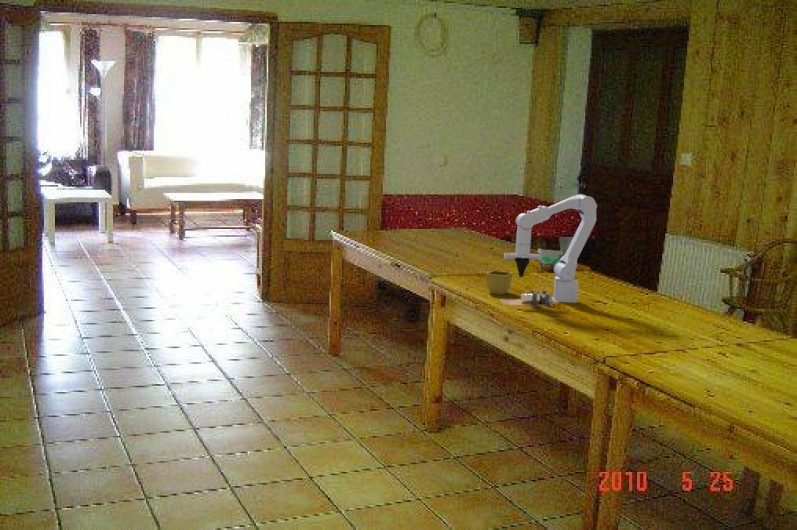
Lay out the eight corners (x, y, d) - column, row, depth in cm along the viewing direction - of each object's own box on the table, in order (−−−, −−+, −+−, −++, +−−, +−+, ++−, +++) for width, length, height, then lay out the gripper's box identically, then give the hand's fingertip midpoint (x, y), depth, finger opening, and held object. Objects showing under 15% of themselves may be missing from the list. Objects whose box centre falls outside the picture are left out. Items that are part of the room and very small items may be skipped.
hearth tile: (548, 301, 335) (548, 300, 335) (553, 307, 325) (553, 306, 325) (499, 299, 335) (499, 298, 335) (503, 305, 325) (503, 304, 325)
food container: (534, 269, 402) (536, 249, 400) (536, 267, 408) (538, 247, 406) (560, 272, 399) (562, 251, 397) (561, 270, 405) (563, 249, 403)
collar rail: (545, 300, 335) (546, 289, 334) (550, 306, 325) (551, 295, 324) (527, 299, 335) (528, 289, 334) (531, 305, 325) (532, 294, 324)
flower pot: (484, 294, 344) (485, 273, 342) (492, 290, 351) (493, 270, 350) (504, 297, 340) (505, 275, 338) (511, 293, 347) (513, 272, 346)
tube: (549, 300, 332) (550, 292, 330) (551, 305, 329) (552, 297, 327) (520, 299, 331) (521, 291, 330) (521, 304, 328) (522, 296, 326)
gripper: (506, 244, 326) (504, 277, 329) (543, 245, 327) (540, 279, 329) (504, 241, 333) (501, 274, 336) (539, 242, 334) (537, 275, 336)
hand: (520, 276), depth 333 cm, fingers closed
